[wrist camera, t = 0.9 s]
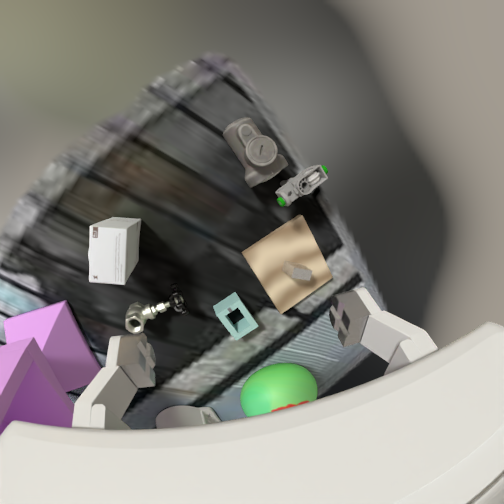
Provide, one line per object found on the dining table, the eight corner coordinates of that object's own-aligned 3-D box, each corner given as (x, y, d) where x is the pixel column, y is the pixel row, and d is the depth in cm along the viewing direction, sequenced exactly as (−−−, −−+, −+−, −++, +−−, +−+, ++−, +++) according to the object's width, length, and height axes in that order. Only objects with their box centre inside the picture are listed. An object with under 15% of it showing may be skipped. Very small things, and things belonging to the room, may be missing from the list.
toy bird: (302, 344, 65) (332, 379, 51) (303, 392, 69) (327, 427, 56) (230, 362, 61) (246, 405, 47) (239, 410, 65) (254, 451, 52)
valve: (136, 326, 53) (188, 305, 55) (133, 343, 47) (190, 320, 49) (121, 299, 51) (174, 277, 53) (116, 314, 45) (175, 289, 47)
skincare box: (139, 260, 50) (127, 288, 36) (109, 258, 48) (88, 285, 35) (141, 216, 49) (129, 229, 35) (110, 214, 47) (87, 226, 33)
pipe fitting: (283, 169, 53) (299, 163, 43) (248, 190, 53) (256, 188, 43) (251, 118, 50) (260, 101, 40) (215, 138, 50) (216, 125, 40)
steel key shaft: (301, 263, 58) (312, 270, 53) (298, 272, 58) (309, 280, 53) (284, 260, 56) (294, 267, 52) (281, 269, 57) (291, 277, 52)
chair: (112, 378, 54) (95, 560, 12) (44, 390, 50) (0, 532, 8) (69, 292, 47) (-42, 471, 5) (0, 314, 43) (-99, 442, 1)
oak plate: (329, 275, 62) (332, 277, 61) (278, 311, 61) (281, 314, 59) (299, 214, 57) (302, 215, 55) (241, 252, 55) (243, 254, 54)
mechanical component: (258, 193, 53) (277, 195, 44) (298, 164, 54) (323, 161, 45) (267, 205, 54) (286, 210, 45) (306, 176, 55) (332, 176, 46)
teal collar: (253, 317, 59) (259, 326, 55) (232, 331, 59) (236, 341, 55) (235, 291, 57) (240, 300, 53) (213, 306, 56) (216, 315, 52)
